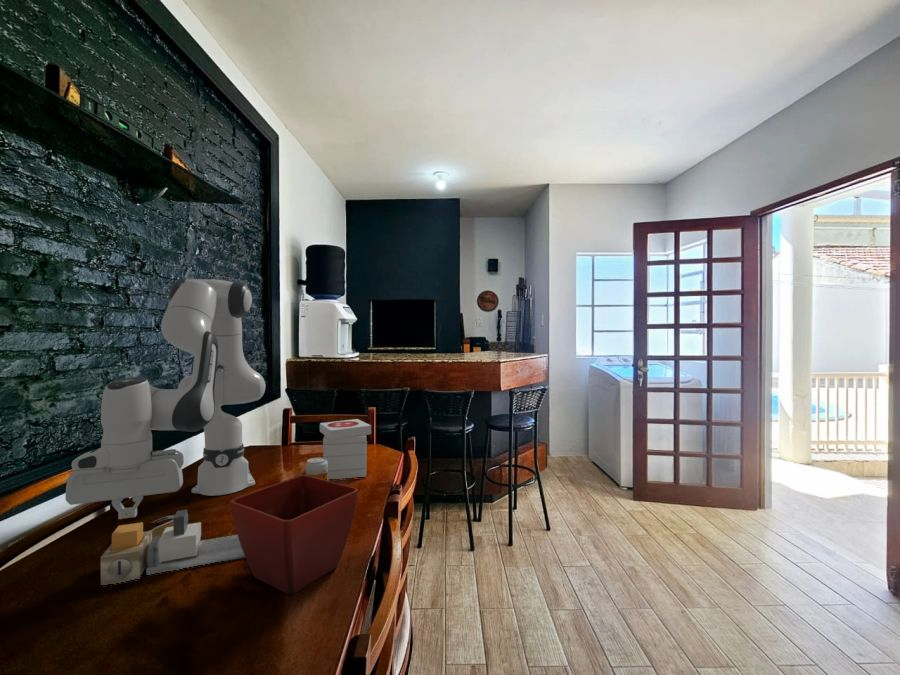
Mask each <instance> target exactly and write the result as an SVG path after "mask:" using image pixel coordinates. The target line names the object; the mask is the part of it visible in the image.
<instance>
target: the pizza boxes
mask: <svg viewBox="0 0 900 675" xmlns="http://www.w3.org/2000/svg"><path fill="white" fill-rule="evenodd" d="M319 432H320V433H321V434H322V435H323V438H322V445H323V446H322V456H323V457H322V458H326V460H327V462H328V479H340V478H352V477H365V476H366V477H367V435H368V436H369V435H372V425H371V424H369V423H367V422H364V421H362V420H360V419H358V418H353V419H345V420H339V421H338V420H336V421H327V422H320V423H319ZM340 480H341V479H340Z"/></svg>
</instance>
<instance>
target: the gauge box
mask: <svg viewBox="0 0 900 675" xmlns="http://www.w3.org/2000/svg"><path fill="white" fill-rule="evenodd" d="M151 542H152V531H150V530H148V531H143V539H142V540H141V542H140V543H139V545H138V546H137V547H131V548H125V549H119V550H113V551H112V543H110V545H109V546H108V547H107V549H106V550H105V551H104V552H103V554H102V555H101V556H100V586H101V585H108V584H114V585H117V584H116V583H119V584H122V583H121V582H124V583H127V582H126V581H130V580H135V579H139V580H140V579H141V578H142V576H143V574H144V572H145V571H146V569H147V567H148V547H149V545H150V543H151ZM146 566H147V567H146ZM145 568H146V569H145ZM144 570H145V571H144ZM141 575H142V576H141ZM140 577H141V578H140ZM135 581H136V580H135ZM130 582H131V581H130Z"/></svg>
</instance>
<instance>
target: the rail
mask: <svg viewBox="0 0 900 675" xmlns="http://www.w3.org/2000/svg"><path fill="white" fill-rule="evenodd" d="M159 539H160V535H157V536H155V537H154V538H153V540H152V542H151V543H150V545H149V547H148V565H147V567H146V569H145V571H146V574H145V575H150V576H152V575H151V574H155V573H160V574H162V573H161V572H166V571H171V572H174V571H173V570H176V571H180V570H179V569H182V570H184V569H183V568H187V569H190V568H189V567H192V568H194V567H193V566H198V565H203V566H206V565H205V564H208V565H211V564H210V563H214V564H216V563H215V562H219V563H222V562H221V561H224V562H229V560H230V561H235V560H240V559H246V557H245V555H244V552H243V550H242V547H241V544H240V541H239V538H238V535H237V534H232V535H227V536H220V537H215V538H209V539H202V540H200V541H199V542H198V554H197V556H191V557H185V558H180V559H174V560H169V561H163V562H160V555H158V541H159ZM198 567H199V566H198ZM166 573H167V572H166ZM155 575H156V574H155Z"/></svg>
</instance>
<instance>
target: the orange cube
mask: <svg viewBox="0 0 900 675" xmlns="http://www.w3.org/2000/svg"><path fill="white" fill-rule="evenodd" d="M143 532H144V522H143V521H141V522H136V523H135V522H134V523H129V524H121V525H118V526H117V528H115V530H114V531H113V532H112V534H111V544H112V551H113V550H119V549H125V548H131V547H137V546H138V545H139V543H140V542H141V540H142V539H143Z"/></svg>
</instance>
